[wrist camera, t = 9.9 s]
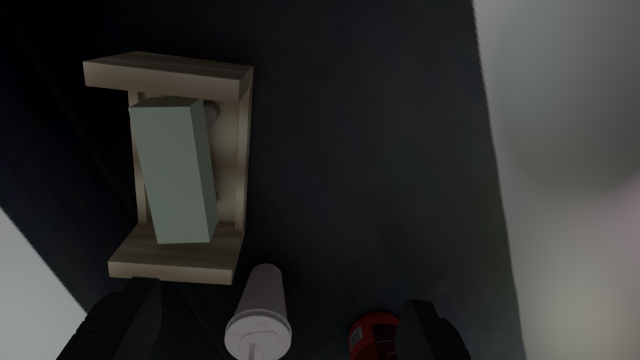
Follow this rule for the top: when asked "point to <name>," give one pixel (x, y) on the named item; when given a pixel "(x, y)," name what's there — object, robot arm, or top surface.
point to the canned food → (373, 337)
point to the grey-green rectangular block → (176, 167)
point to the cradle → (225, 151)
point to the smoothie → (260, 318)
